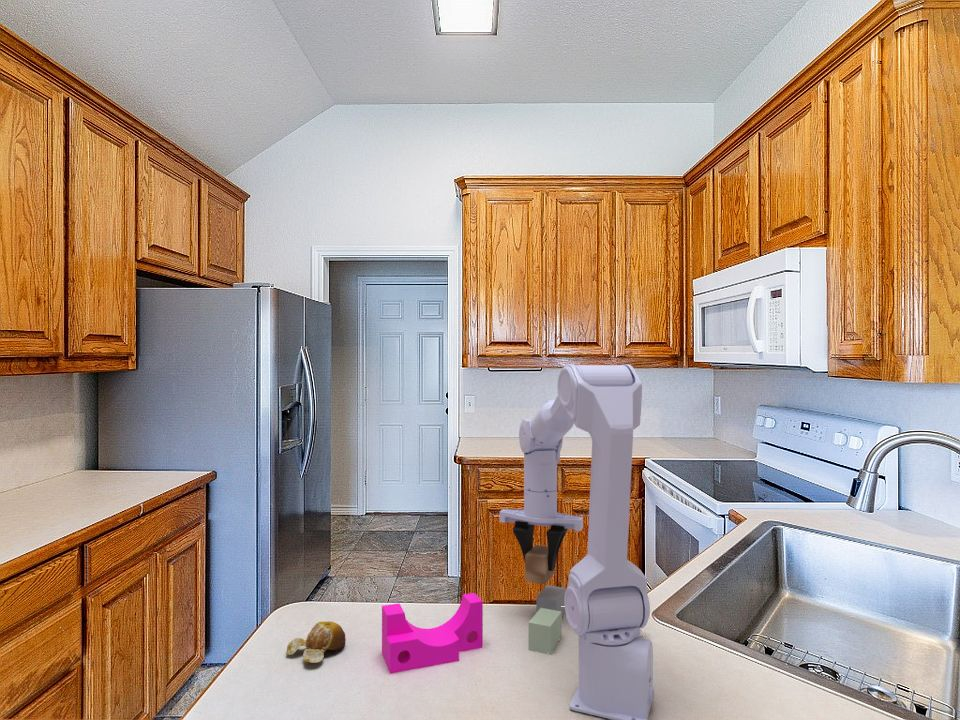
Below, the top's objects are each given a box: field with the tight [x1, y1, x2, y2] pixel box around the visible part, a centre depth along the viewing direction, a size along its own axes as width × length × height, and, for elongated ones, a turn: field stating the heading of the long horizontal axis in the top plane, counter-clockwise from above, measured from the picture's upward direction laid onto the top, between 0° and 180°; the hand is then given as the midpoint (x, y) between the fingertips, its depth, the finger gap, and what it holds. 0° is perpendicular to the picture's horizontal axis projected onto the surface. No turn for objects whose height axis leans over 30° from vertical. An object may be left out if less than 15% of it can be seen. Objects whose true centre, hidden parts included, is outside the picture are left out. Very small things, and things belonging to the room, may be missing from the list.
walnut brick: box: [524, 544, 556, 585], centre depth 102 cm, size 4×6×4 cm, turn 157°
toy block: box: [381, 592, 484, 675], centre depth 89 cm, size 15×6×8 cm, turn 110°
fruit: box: [285, 620, 347, 664], centre depth 90 cm, size 8×8×4 cm
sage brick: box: [528, 608, 562, 655], centre depth 92 cm, size 4×6×4 cm, turn 156°
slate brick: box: [535, 584, 567, 618], centre depth 102 cm, size 4×6×4 cm, turn 157°
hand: (540, 567), depth 102 cm, fingers closed on walnut brick, 3 cm apart
